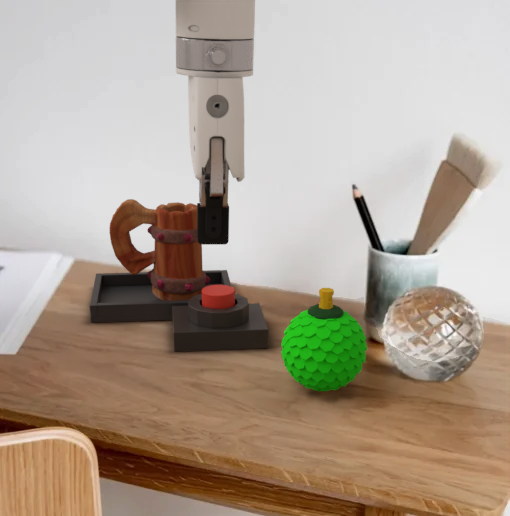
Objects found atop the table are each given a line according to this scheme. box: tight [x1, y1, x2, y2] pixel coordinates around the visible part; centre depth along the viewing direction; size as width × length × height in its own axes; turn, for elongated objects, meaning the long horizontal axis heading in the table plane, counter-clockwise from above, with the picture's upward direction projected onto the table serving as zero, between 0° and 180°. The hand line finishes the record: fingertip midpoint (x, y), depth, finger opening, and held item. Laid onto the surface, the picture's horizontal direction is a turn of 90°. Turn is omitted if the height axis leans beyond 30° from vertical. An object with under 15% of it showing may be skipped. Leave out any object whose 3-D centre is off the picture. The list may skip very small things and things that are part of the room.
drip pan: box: [89, 269, 232, 323], centre depth 102 cm, size 17×12×2 cm
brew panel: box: [172, 293, 269, 353], centre depth 92 cm, size 10×8×4 cm
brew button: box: [202, 285, 236, 309], centre depth 91 cm, size 4×4×2 cm
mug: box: [109, 198, 210, 301], centre depth 100 cm, size 12×6×12 cm, turn 86°
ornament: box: [280, 287, 368, 392], centre depth 79 cm, size 8×8×10 cm
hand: (212, 241), depth 89 cm, fingers closed
